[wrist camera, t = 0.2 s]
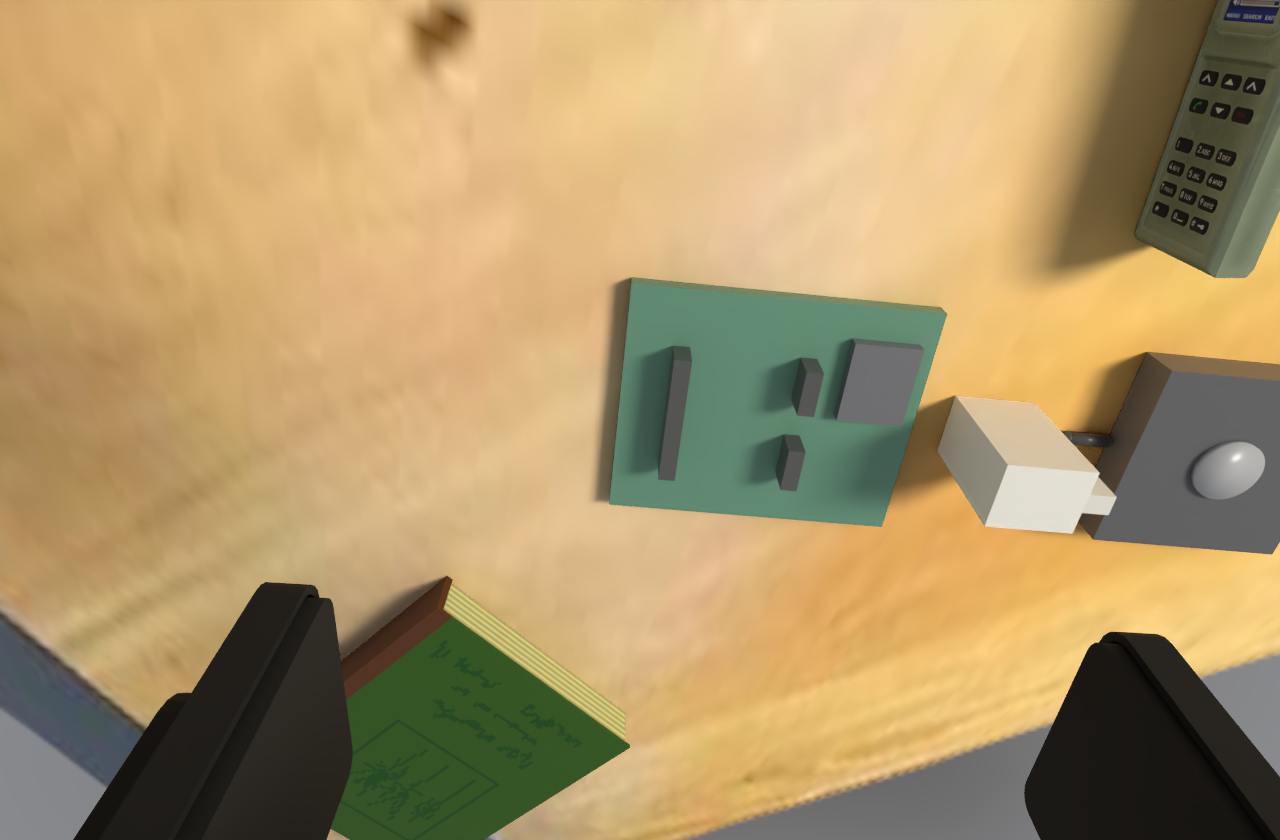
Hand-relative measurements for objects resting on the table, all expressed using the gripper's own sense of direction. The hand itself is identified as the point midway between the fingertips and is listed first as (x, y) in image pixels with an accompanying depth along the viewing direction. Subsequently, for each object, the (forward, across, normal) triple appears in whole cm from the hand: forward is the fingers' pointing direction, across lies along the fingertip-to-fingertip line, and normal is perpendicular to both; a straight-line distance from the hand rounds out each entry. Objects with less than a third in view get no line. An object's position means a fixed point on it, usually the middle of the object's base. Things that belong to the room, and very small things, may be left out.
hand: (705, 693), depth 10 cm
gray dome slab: (+37, -35, +15) cm, 53 cm away
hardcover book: (+38, +14, +45) cm, 60 cm away
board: (+37, -8, +14) cm, 40 cm away
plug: (+37, -22, +15) cm, 45 cm away
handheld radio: (+37, -28, -10) cm, 47 cm away
